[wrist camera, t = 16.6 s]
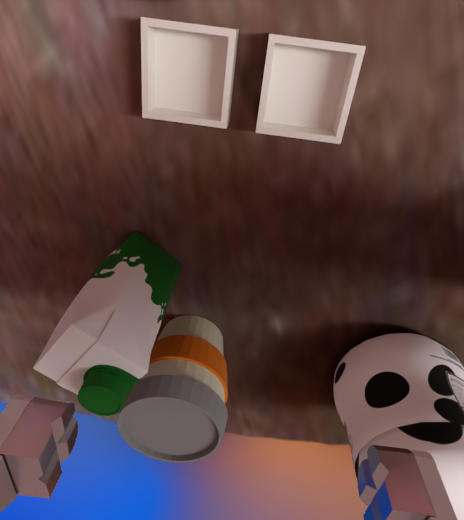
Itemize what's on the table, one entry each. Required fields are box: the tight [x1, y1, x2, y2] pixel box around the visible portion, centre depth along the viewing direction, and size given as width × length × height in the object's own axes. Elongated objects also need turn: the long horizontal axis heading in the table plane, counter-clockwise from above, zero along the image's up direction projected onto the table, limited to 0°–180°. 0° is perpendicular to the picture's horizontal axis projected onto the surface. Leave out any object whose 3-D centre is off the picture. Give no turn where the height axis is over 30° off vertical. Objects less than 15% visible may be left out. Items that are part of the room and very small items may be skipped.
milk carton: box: [33, 230, 182, 416], centre depth 41 cm, size 9×9×20 cm
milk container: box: [333, 332, 464, 520], centre depth 47 cm, size 17×17×18 cm
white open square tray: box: [256, 33, 366, 144], centre depth 35 cm, size 8×8×3 cm
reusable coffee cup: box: [118, 315, 228, 463], centre depth 49 cm, size 12×13×15 cm
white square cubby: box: [141, 17, 239, 129], centre depth 36 cm, size 8×8×3 cm
